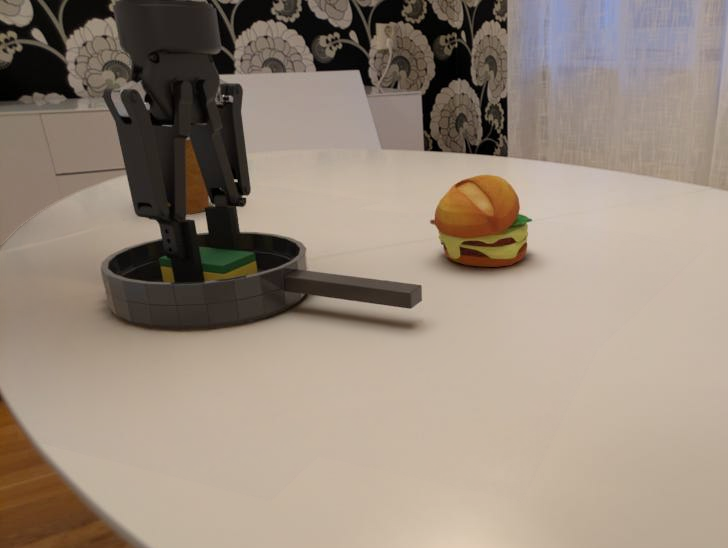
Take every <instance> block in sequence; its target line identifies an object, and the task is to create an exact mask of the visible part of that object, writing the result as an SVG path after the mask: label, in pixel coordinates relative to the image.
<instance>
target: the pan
mask: <svg viewBox="0 0 728 548" xmlns="http://www.w3.org/2000/svg"><path fill="white" fill-rule="evenodd" d="M197 238H198V244H199V247H207V248H211V245H210V239H209V233H208V232H200V233H199V232H198V233H197ZM238 240H239V247H240V251H243V252H252V253H255V258H256V265H257V272H258V273H256V274H251V275H246V276H240V277H235V278H229V279H220V280H212V281H203V282H181V283H169V282H164V281H163V276H162V271H161V266H160V261H159V258H161V257H163V256H166V255H165V252H164V246H163V241H162V238H158V239H152V240H149V241H143V242H140V243H138V244H134V245H131V246H128V247H125V248H122V249H119V250H118V251H115V252H113V253H111V254H110V255H108V256H107V257H106V258H105V259H104V260H102V261H101V262H100V268H99V269H100V275H101V279H102V282H103V287H104V291H105V296H106V299H107V304H108V308H109V309H110V311H112V312H113V313H114V314H115V315H116V316H117V317H119V318H121V319H123V320H124V321H126V322H128V323H130V324H134V325H137V326H141V327H146V328H151V329H160V330H180V331H181V330H182V331H183V330H202V329H203V330H204V329H206V330H207V329H215V328H222V327H223V328H224V327H230V326H237V325H242V324H247V323H251V322H255V321H258V320H262V319H265V318H269V317H272V316H274V315H278V314H279V313H282V312H284V311H287V310H288V309H291V308H292V307H293V306H295V305H297V304H298V303H299V302H300V301H302V300H303V298H304V297H305V295H306V294H300V293H293V292H286V291H285V286H284V278H283V277H284V276H285V275H287V274H289V273H292V272H294V271H296V270H306V271H310V269H309V260H308V258H309V257H308V248H307V246H305V245H304V243H303V242H301V241H300V240H297V239H295V238H292V237H289V236H285V235H281V234H275V233H268V232H258V231H257V232H256V231H240V238H239V239H238Z"/></svg>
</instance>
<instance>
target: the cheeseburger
mask: <svg viewBox="0 0 728 548" xmlns="http://www.w3.org/2000/svg"><path fill="white" fill-rule="evenodd" d="M520 210H521V205H520V200H519V195H517V193H516V190H515V189H514V188H513V186H512V185H511V184H510V183H509V182H508V181H507V180H506V179H504V178H503V177H501V176H498V175H491V174H480V175H475V176H472V177H468V178H465V179H462V180H460V181H458V182H456V183H454V184H453V185H452V186H451V187H450V189H449V190H448V191H447V192H446V193H445V194H444V195H443V197H442V198H441V199H440V200H439V202H438V204H437V206H436V209H435V212H434V219H430V220H429V224H431V225H434V226H435V227H436V229H437V231H438V239H439V241H440V244H441V246H443V251H444V255H445V257H446V258H448V259H449V260H451V261H452V262H455V263H458V264H462V265H465V266H469V267H470V266H471V267H479V268H480V267H481V268H482V267H483V268H499V267H506V266H507V267H508V266H511V265H513V264H515V263H517V262H519V261H522V260H523V258H524V257H525V255H526V253H527V250H528V236H529V232H528V230H529V229H528V227H529V225H528V223H530V222H533V219H532V218H529V217H528V216H526V215H524V214H521V213H520Z"/></svg>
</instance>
